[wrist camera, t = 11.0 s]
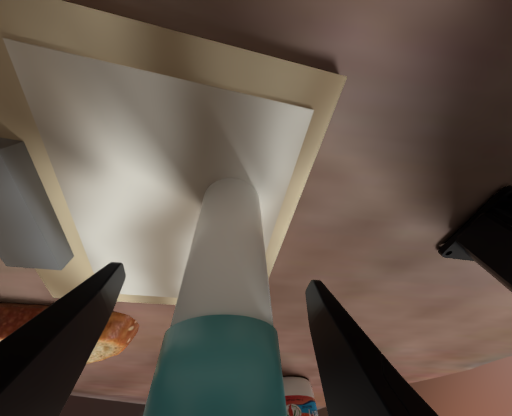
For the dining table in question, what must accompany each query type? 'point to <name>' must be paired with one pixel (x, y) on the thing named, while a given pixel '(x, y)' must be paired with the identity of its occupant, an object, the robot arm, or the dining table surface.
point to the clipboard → (140, 142)
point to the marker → (222, 318)
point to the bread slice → (109, 344)
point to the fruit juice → (299, 397)
